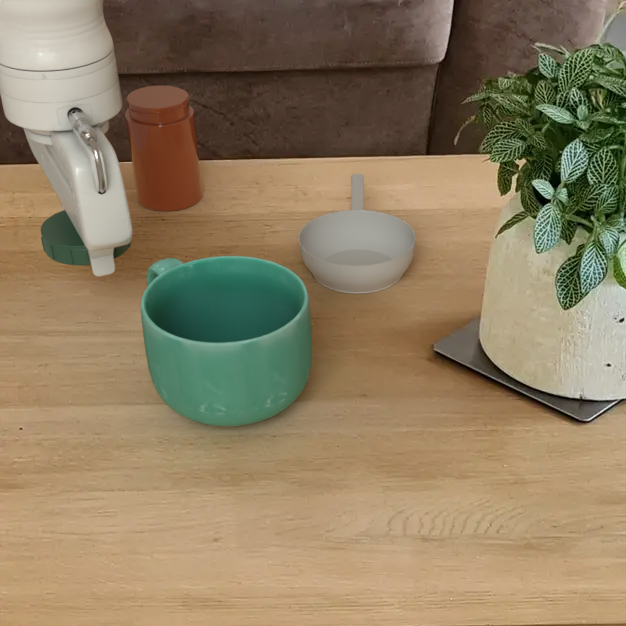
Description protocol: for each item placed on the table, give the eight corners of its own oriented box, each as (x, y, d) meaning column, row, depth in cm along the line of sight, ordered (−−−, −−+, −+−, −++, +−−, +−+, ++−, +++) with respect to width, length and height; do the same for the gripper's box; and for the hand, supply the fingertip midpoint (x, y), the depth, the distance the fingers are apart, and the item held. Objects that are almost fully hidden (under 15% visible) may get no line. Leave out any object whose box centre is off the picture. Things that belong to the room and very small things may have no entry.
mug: (344, 412, 92) (341, 309, 86) (199, 469, 86) (185, 362, 80) (243, 318, 102) (234, 220, 96) (108, 363, 96) (89, 262, 90)
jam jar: (152, 216, 116) (137, 114, 110) (127, 191, 121) (112, 91, 114) (213, 201, 119) (203, 101, 113) (187, 177, 124) (176, 79, 117)
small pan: (297, 300, 105) (295, 262, 102) (305, 207, 119) (303, 172, 116) (417, 299, 105) (418, 262, 103) (410, 207, 119) (411, 173, 117)
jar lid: (134, 222, 101) (131, 203, 100) (129, 263, 95) (125, 243, 94) (49, 226, 100) (45, 207, 99) (39, 267, 94) (35, 248, 93)
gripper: (139, 131, 83) (163, 298, 92) (70, 40, 97) (97, 192, 106) (49, 146, 81) (82, 316, 89) (-8, 51, 95) (26, 206, 104)
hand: (90, 248), depth 98 cm, fingers closed on jar lid, 7 cm apart
